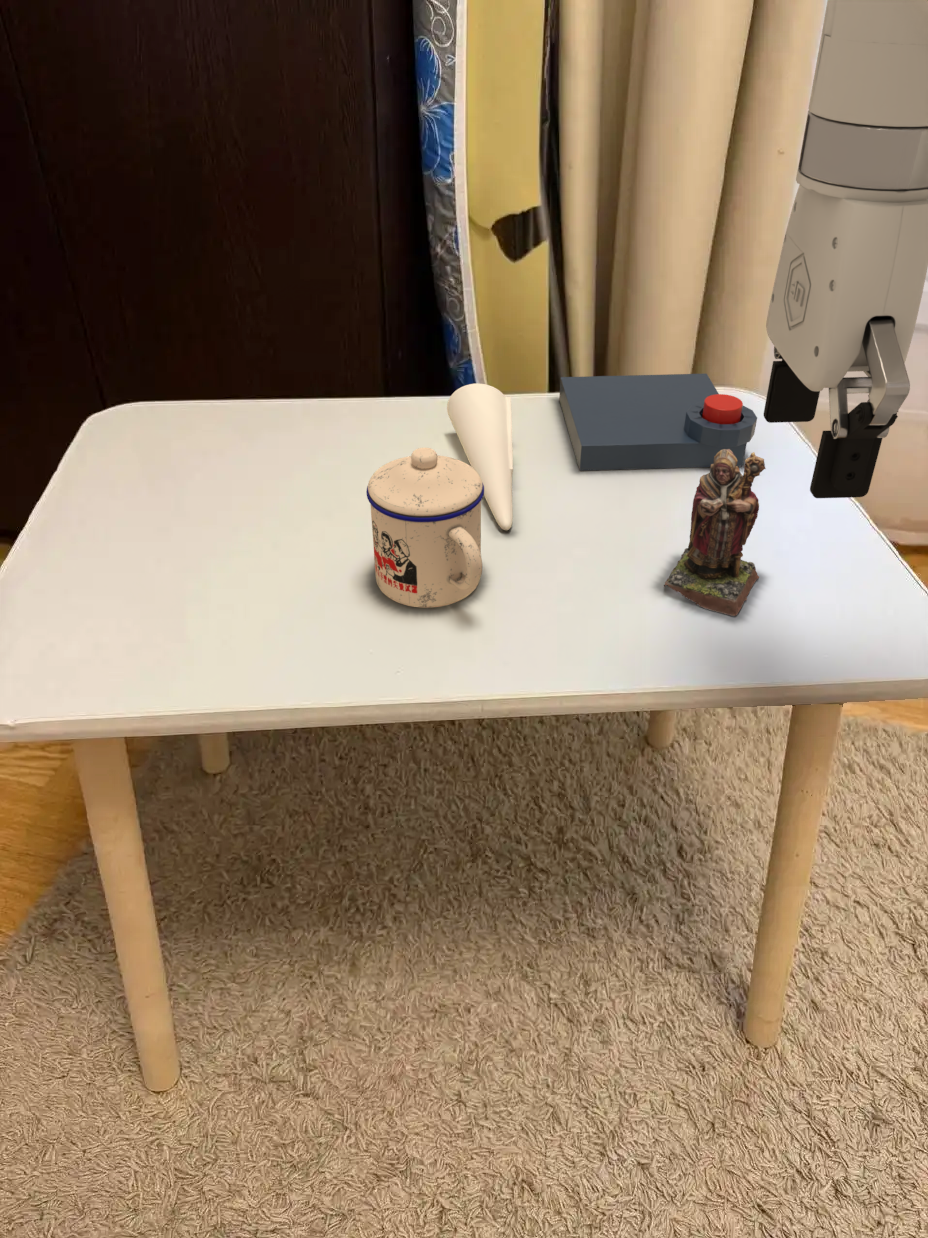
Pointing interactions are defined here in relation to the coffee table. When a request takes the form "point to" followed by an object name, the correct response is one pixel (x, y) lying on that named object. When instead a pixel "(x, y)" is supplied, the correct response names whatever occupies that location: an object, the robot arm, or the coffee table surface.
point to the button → (722, 409)
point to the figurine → (720, 537)
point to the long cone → (487, 442)
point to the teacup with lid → (426, 529)
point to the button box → (647, 422)
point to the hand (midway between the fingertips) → (811, 455)
